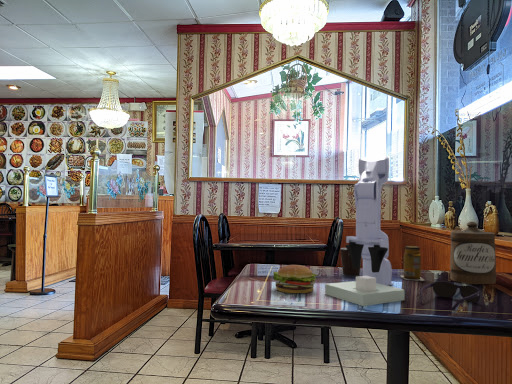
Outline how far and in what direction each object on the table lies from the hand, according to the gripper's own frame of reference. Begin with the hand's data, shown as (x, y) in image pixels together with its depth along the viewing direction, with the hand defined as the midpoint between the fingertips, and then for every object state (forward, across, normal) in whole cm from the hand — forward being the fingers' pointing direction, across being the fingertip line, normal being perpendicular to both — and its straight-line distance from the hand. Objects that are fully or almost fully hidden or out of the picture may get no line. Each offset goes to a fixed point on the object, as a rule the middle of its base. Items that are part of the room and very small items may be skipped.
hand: (365, 270), depth 114 cm
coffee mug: (+9, -35, +25) cm, 44 cm away
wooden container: (+9, -6, +59) cm, 60 cm away
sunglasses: (+9, +13, +19) cm, 25 cm away
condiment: (+9, -19, +42) cm, 47 cm away
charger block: (+8, 0, 0) cm, 8 cm away
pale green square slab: (+8, -3, +2) cm, 9 cm away
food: (+9, -20, -11) cm, 24 cm away
